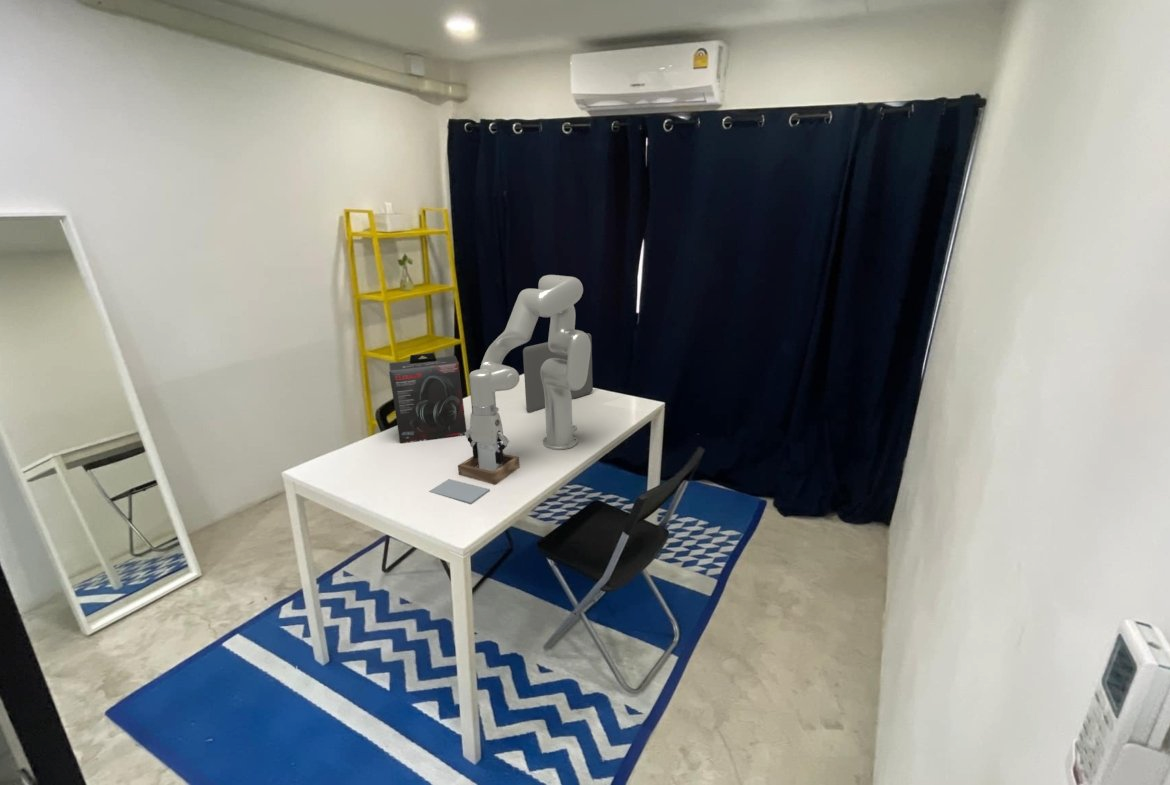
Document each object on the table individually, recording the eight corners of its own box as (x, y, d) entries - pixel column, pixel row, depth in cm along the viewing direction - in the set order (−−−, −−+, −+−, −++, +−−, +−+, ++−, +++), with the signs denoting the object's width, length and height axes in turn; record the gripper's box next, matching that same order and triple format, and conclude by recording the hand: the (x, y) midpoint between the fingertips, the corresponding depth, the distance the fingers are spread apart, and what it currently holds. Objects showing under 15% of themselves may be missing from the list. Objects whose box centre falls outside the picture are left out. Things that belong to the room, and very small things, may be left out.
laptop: (552, 383, 275) (549, 324, 266) (594, 395, 255) (592, 332, 245) (488, 401, 250) (482, 337, 241) (528, 417, 230) (524, 348, 221)
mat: (449, 481, 176) (448, 478, 176) (490, 491, 169) (489, 489, 169) (429, 493, 169) (429, 491, 168) (471, 504, 161) (470, 502, 161)
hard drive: (481, 468, 184) (478, 434, 180) (500, 474, 180) (498, 438, 176) (478, 470, 183) (475, 435, 179) (497, 476, 179) (494, 440, 175)
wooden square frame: (484, 460, 190) (483, 449, 189) (519, 468, 184) (519, 457, 182) (459, 476, 179) (457, 465, 178) (495, 485, 173) (494, 473, 171)
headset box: (399, 449, 202) (387, 361, 191) (398, 436, 213) (387, 352, 203) (467, 438, 209) (459, 353, 199) (463, 427, 220) (455, 346, 210)
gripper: (513, 409, 174) (517, 459, 179) (469, 401, 182) (474, 450, 187) (499, 416, 167) (503, 469, 173) (454, 408, 175) (459, 459, 181)
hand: (488, 459), depth 180 cm, fingers closed on hard drive, 8 cm apart
